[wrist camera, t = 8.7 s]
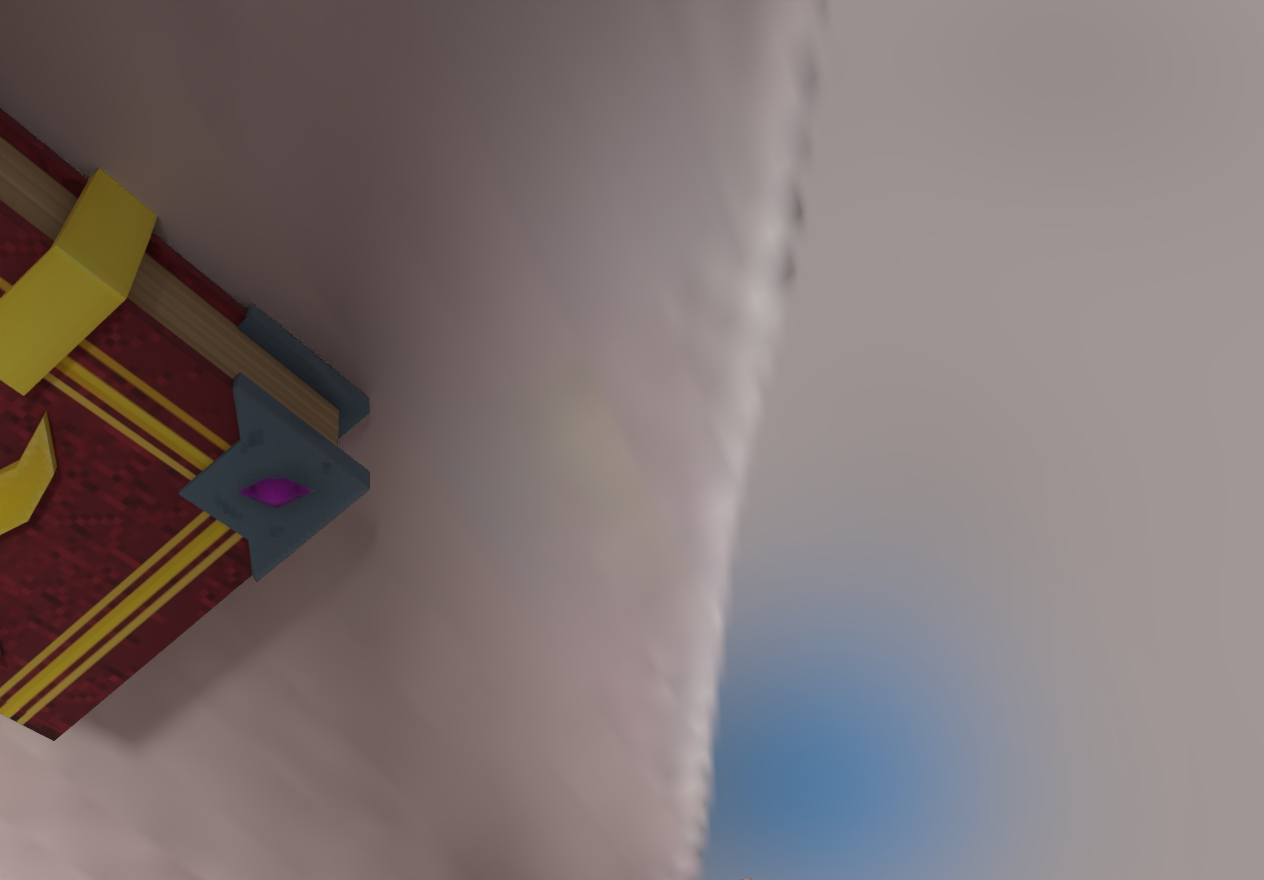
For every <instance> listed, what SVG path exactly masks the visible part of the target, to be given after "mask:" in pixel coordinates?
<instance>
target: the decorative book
mask: <svg viewBox="0 0 1264 880" xmlns="http://www.w3.org/2000/svg"><path fill="white" fill-rule="evenodd" d="M157 219H158V216H157V215H155V214H154V213H153V212H152V211H151V210H149V209H148V208H147V207H146V206H145V205H143V204H142V203H141V202H140V201H139V200H137V199H136V198H135V197H134V196H133V195H131V194H130V193H129V192H128V191H127V190H125V189H124V188H123V187H122V186H120V185H119V184H118V183H117V182H116V181H114V180H113V179H112V178H111V177H110V176H108V175H107V174H106V173H105V172H104V171H102V170H101V169H100V168H99V169H98V170H97V171H96V172H95V173H94V174H93V175H92V176H91V177H90V178H89V179H88V180H87V179H86V178H85V177H84V176H82V175H81V174H80V173H79V172H78V171H76V170H75V169H74V168H73V167H71V166H70V165H69V164H68V163H67V162H65V161H64V160H63V159H62V158H60V157H59V156H58V155H57V154H56V153H54V152H53V151H52V150H51V149H49V148H48V147H47V146H46V145H45V144H43V143H42V142H41V141H40V140H38V139H37V138H36V137H35V136H34V135H32V134H31V133H30V132H29V131H27V130H26V129H25V128H24V127H23V126H21V125H20V124H19V123H18V122H16V121H15V120H14V119H13V118H11V117H10V116H9V115H8V114H7V113H5V112H4V111H3V110H2V109H0V714H2V715H4V716H6V717H8V718H10V719H12V720H14V721H16V722H18V723H20V724H22V725H24V726H26V727H27V728H29V729H31V730H33V731H35V732H37V733H39V734H41V735H43V736H45V737H47V738H49V739H51V740H53V741H55V740H56V739H57V738H58V737H60V736H61V735H62V734H63V733H64V732H66V731H67V730H68V729H69V728H70V727H71V726H73V725H74V724H75V723H76V722H77V721H79V720H80V719H81V718H82V717H83V716H85V715H86V714H87V713H88V712H89V711H91V710H92V709H93V708H94V707H95V706H97V705H98V704H99V703H100V702H101V701H102V700H104V699H105V698H106V697H107V696H108V695H110V694H111V693H112V692H113V691H114V690H116V689H117V688H118V687H119V686H120V685H122V684H123V683H124V682H125V681H126V680H127V679H129V678H130V677H131V676H132V675H133V674H135V673H136V672H137V671H138V670H139V669H141V668H142V667H143V666H144V665H145V664H147V663H148V662H149V661H150V660H151V659H152V658H154V657H155V656H156V655H157V654H158V653H160V652H161V651H162V650H163V649H164V648H166V647H167V646H168V645H169V644H170V643H172V642H173V641H174V640H175V639H176V638H177V637H179V636H180V635H181V634H182V633H183V632H185V631H186V630H187V629H188V628H189V627H191V626H192V625H193V624H194V623H195V622H197V621H198V620H199V619H200V618H201V617H202V616H204V615H205V614H206V613H207V612H208V611H210V610H211V609H212V608H213V607H214V606H216V605H217V604H218V603H219V602H220V601H222V600H223V599H224V598H225V597H226V596H227V595H229V594H230V593H231V592H232V591H233V590H235V589H236V588H237V587H238V586H239V585H241V584H242V583H243V582H244V581H245V580H247V579H248V578H249V577H250V576H251V575H252V576H253V577H254V579H255V580H256V582H257V581H258V580H260V579H261V578H262V577H263V576H265V575H266V574H267V573H268V572H269V571H271V570H272V569H273V568H274V567H276V566H277V565H278V564H279V563H280V562H282V561H283V560H284V559H285V558H287V557H288V556H289V555H290V554H291V553H293V552H294V551H295V550H296V549H297V548H299V547H300V546H301V545H302V544H304V543H305V542H306V541H307V540H308V539H310V538H311V537H312V536H313V535H315V534H316V533H317V532H318V531H319V530H321V529H322V528H323V527H324V526H325V525H327V524H328V523H329V522H330V521H332V520H333V519H334V518H335V517H336V516H338V515H339V514H340V513H341V512H343V511H344V510H345V509H346V508H347V507H349V506H350V505H351V504H352V503H353V502H355V501H356V500H357V499H358V498H360V497H361V496H362V495H363V494H364V493H366V492H367V491H368V490H369V489H370V472H369V471H368V470H367V469H365V468H364V467H363V466H361V465H360V464H359V463H358V462H356V461H355V460H354V459H352V458H351V457H350V456H349V455H347V454H346V453H345V452H343V451H342V450H341V449H339V448H338V439H339V438H340V437H341V436H342V435H343V434H345V433H346V432H347V431H348V430H349V429H351V428H352V427H353V426H354V425H355V424H356V423H358V422H359V421H360V420H361V419H362V418H364V417H365V416H366V415H367V414H368V413H369V398H368V397H367V396H366V395H364V394H363V393H362V392H361V391H360V390H358V389H357V388H356V387H355V386H353V385H352V384H351V383H350V382H348V381H347V380H346V379H345V378H343V377H342V376H341V375H340V374H339V373H337V372H336V371H335V370H334V369H332V368H331V367H330V366H329V365H327V364H326V363H325V362H324V361H322V360H321V359H320V358H319V357H318V356H316V355H315V354H314V353H313V352H311V351H310V350H309V349H308V348H306V347H305V346H304V345H303V344H301V343H300V342H299V341H298V340H297V339H295V338H294V337H293V336H292V335H290V334H289V333H288V332H287V331H285V330H284V329H283V328H282V327H280V326H279V325H278V324H277V323H276V322H274V321H273V320H272V319H271V318H269V317H268V316H267V315H266V314H264V313H263V312H262V311H261V310H260V309H258V308H257V307H256V306H255V305H253V304H252V305H251V306H250V307H249V309H248V310H247V309H245V308H244V307H243V306H242V305H240V304H239V303H238V302H237V301H236V300H234V299H233V298H232V297H231V296H229V295H228V294H227V293H226V292H225V291H223V290H222V289H221V288H220V287H218V286H217V285H216V284H215V283H213V282H212V281H211V280H210V279H209V278H207V277H206V276H205V275H204V274H202V273H201V272H200V271H199V270H198V269H196V268H195V267H194V266H193V265H191V264H190V263H189V262H188V261H187V260H185V259H184V258H183V257H182V256H180V255H179V254H178V253H177V252H176V251H174V250H173V249H172V248H171V247H169V246H168V245H167V244H166V243H165V242H163V241H162V240H161V239H160V238H158V237H157V236H156V235H155V234H154V233H152V232H153V229H154V227H155V224H156V222H157Z"/></svg>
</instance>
